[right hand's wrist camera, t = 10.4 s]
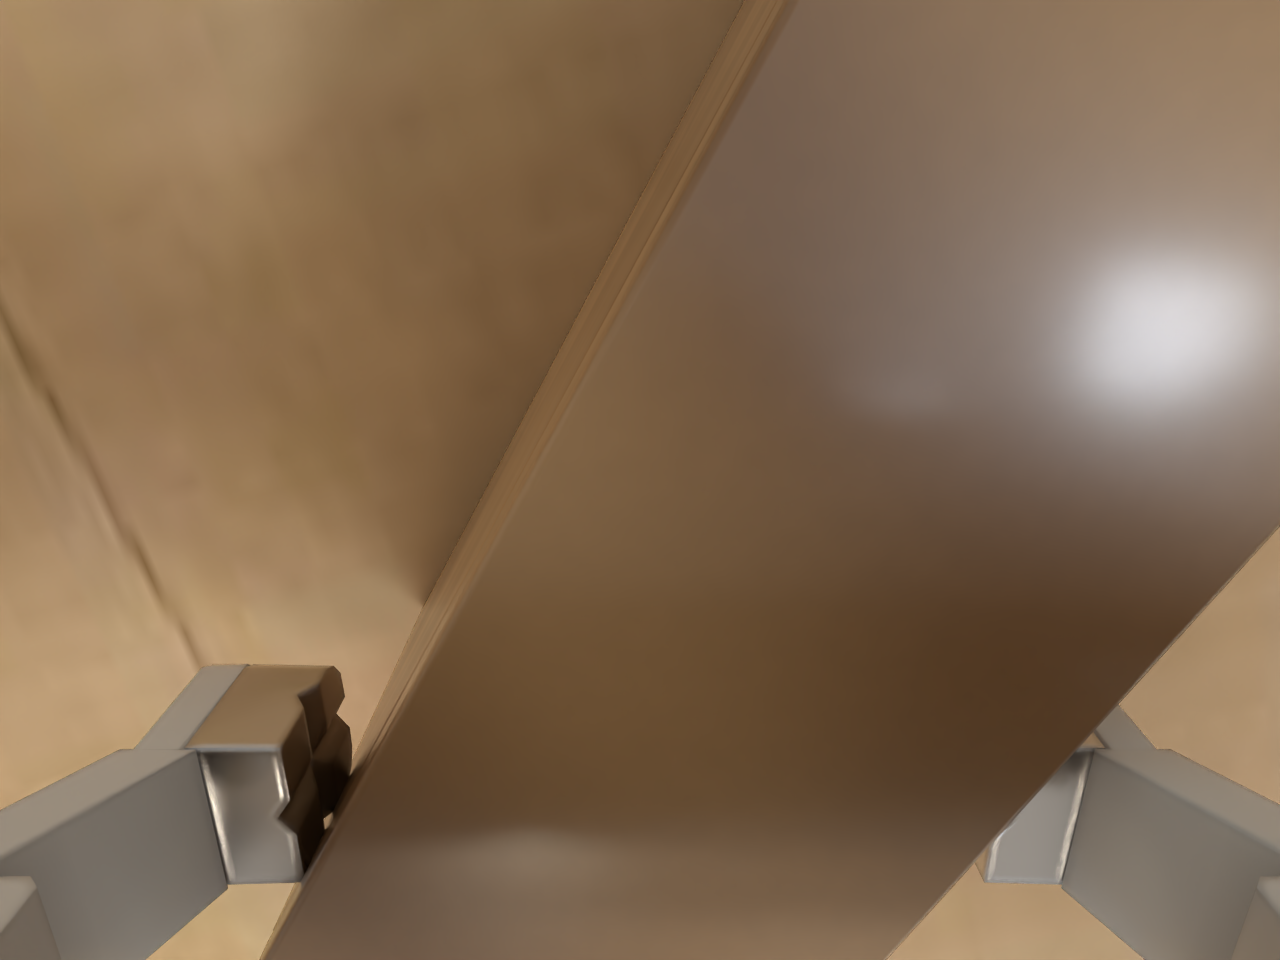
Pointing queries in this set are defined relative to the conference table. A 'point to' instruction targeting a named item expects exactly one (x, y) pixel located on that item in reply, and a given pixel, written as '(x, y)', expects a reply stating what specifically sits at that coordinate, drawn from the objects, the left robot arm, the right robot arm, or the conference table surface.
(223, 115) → the conference table surface
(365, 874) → the cabinet
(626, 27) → the conference table surface
